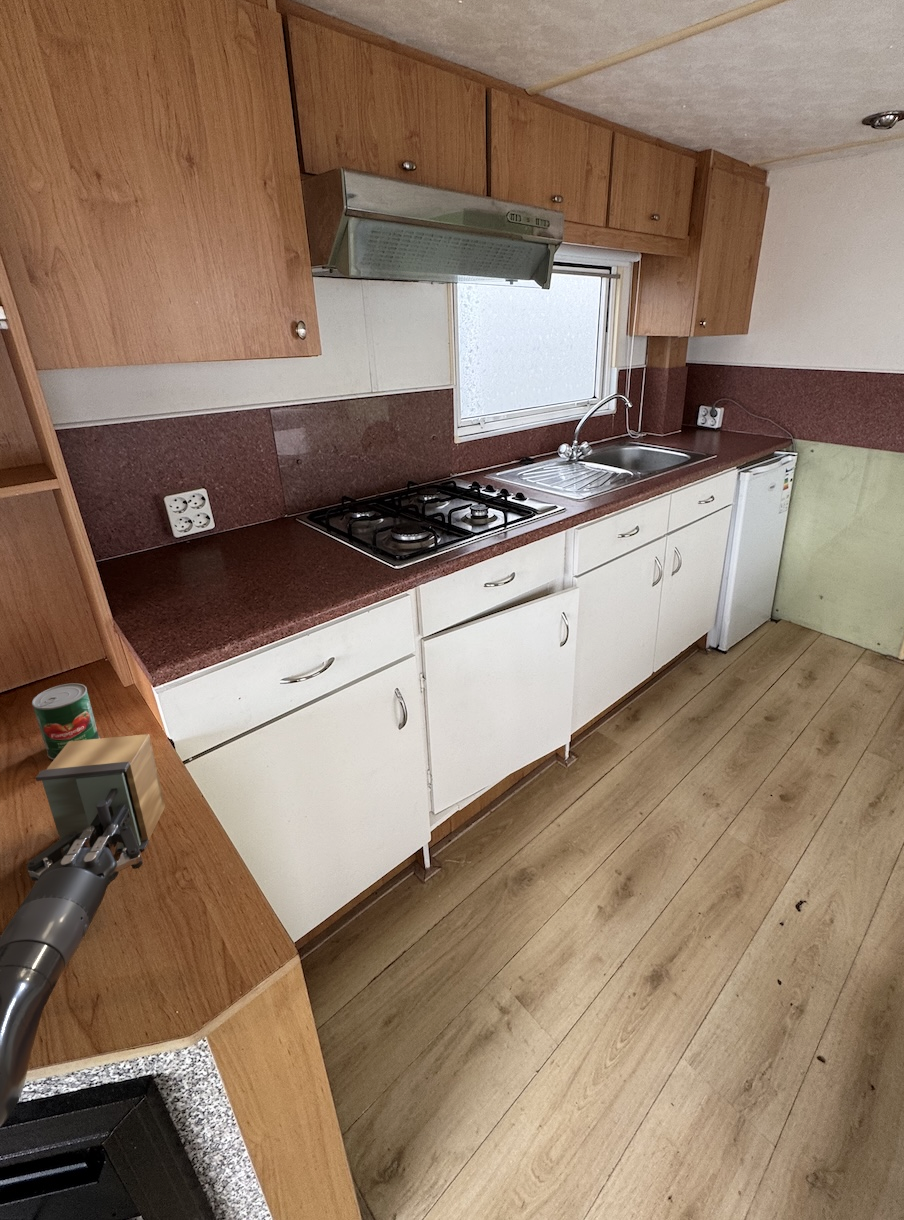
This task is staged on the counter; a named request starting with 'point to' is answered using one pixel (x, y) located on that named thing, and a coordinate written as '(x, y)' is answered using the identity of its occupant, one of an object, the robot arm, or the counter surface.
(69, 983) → the counter surface
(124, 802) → the slide door
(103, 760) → the cabinet
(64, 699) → the canned tomato
